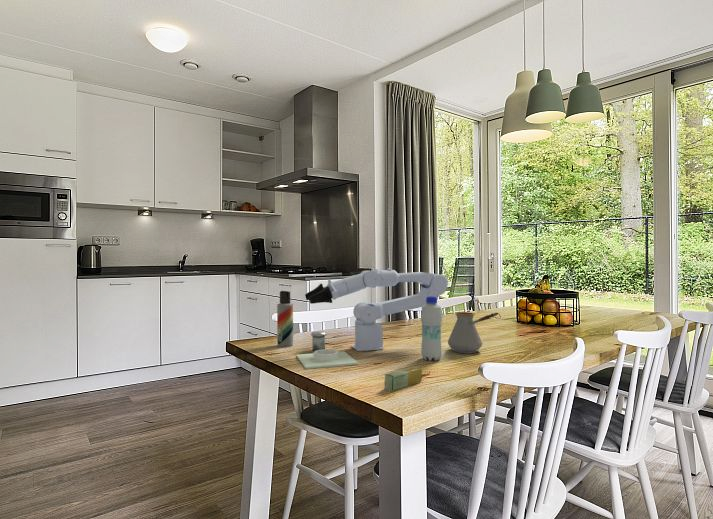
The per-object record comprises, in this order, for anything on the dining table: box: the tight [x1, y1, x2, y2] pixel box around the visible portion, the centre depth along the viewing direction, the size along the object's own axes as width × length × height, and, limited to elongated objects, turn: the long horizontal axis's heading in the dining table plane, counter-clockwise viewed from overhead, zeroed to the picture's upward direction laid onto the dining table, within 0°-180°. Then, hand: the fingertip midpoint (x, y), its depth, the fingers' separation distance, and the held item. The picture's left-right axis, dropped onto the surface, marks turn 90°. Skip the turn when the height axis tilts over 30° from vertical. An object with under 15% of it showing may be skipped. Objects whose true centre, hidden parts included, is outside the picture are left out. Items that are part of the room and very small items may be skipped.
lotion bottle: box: [276, 290, 294, 348], centre depth 159 cm, size 6×6×20 cm
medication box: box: [383, 365, 423, 392], centre depth 111 cm, size 12×3×4 cm, turn 134°
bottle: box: [420, 296, 443, 362], centre depth 138 cm, size 7×7×20 cm
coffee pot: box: [447, 311, 501, 354], centre depth 145 cm, size 21×12×15 cm, turn 27°
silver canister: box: [310, 330, 327, 352], centre depth 151 cm, size 5×5×6 cm
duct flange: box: [295, 348, 359, 370], centre depth 137 cm, size 16×16×3 cm
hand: (307, 299), depth 148 cm, fingers open, 7 cm apart
